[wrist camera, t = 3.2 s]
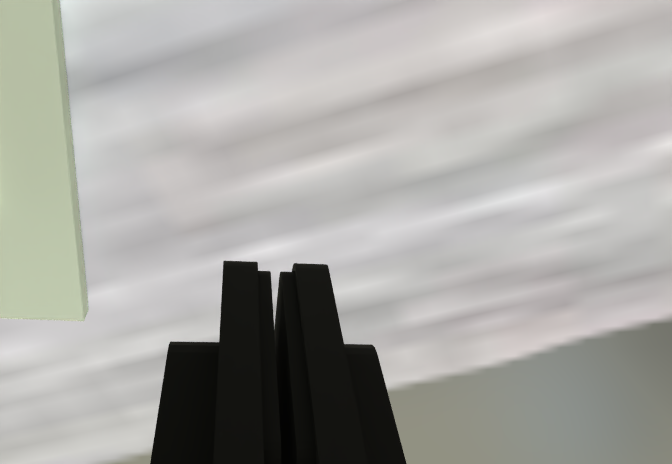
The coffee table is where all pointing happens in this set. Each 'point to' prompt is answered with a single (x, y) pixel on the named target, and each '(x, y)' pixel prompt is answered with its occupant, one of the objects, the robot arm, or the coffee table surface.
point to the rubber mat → (37, 170)
